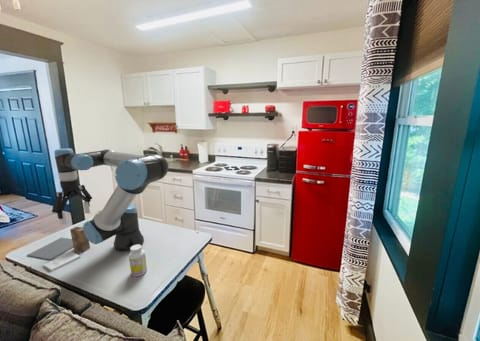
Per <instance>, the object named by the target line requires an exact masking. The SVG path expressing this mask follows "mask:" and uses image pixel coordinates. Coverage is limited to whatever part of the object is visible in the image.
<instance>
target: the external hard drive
mask: <svg viewBox="0 0 480 341" xmlns="http://www.w3.org/2000/svg"><path fill="white" fill-rule="evenodd" d="M78 259H79V260H80V259H81V255H80V254H77V253H75V252H74V251H71V252H68V253H66V254H63V255H61V256H58V257H56V258H54V259H53V260H50V261H49V262H47V263H44V264H43V267H44V268H45V267H46V269H47V268H48V269H49V271H50V272H51V271H52V272H54V271H57V270H58V269H60V268H62V267H64V266H67V265H69V264H70V263H73V262H75V261H76V260H78Z"/></svg>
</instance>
